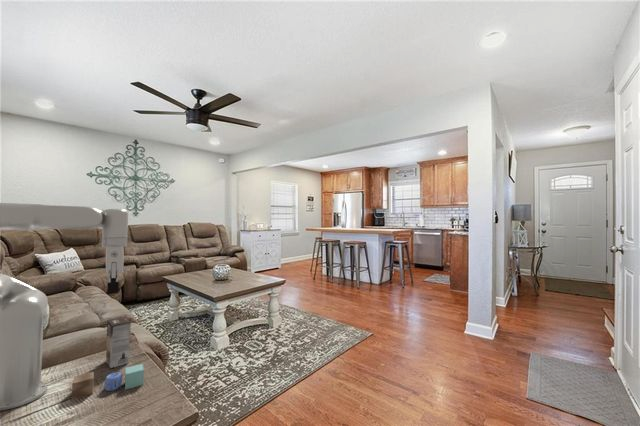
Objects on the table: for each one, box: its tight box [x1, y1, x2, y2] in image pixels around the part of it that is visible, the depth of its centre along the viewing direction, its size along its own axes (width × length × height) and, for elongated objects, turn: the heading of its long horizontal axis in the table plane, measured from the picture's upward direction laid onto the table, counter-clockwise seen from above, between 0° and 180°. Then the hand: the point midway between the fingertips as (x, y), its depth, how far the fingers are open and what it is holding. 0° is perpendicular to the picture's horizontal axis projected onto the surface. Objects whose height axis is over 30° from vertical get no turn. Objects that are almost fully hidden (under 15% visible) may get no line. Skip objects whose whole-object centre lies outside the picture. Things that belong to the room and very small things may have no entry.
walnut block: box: [71, 371, 95, 401], centre depth 90 cm, size 5×5×5 cm
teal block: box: [124, 363, 145, 390], centre depth 96 cm, size 5×5×5 cm
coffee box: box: [105, 316, 132, 369], centre depth 111 cm, size 9×6×16 cm
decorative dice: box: [103, 372, 123, 392], centre depth 93 cm, size 4×4×4 cm
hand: (112, 292), depth 102 cm, fingers closed
